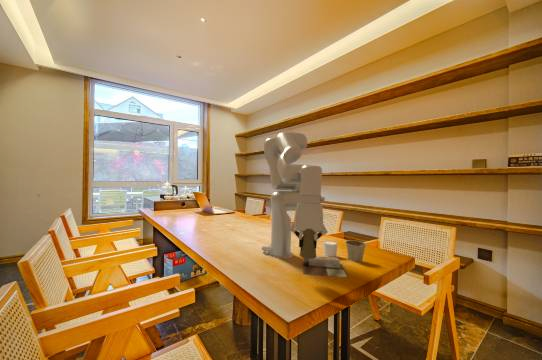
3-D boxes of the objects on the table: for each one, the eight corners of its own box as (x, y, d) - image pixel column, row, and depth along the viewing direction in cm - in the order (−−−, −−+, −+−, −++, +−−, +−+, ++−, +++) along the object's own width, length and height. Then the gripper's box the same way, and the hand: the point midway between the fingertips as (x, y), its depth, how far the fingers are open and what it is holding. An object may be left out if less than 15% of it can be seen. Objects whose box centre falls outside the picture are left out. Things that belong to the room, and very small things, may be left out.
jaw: (303, 265, 99) (303, 256, 99) (303, 263, 101) (303, 254, 101) (339, 268, 96) (339, 259, 96) (338, 266, 99) (339, 257, 99)
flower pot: (367, 266, 104) (368, 246, 104) (345, 264, 106) (346, 245, 106) (363, 259, 114) (364, 241, 113) (343, 257, 115) (344, 239, 115)
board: (303, 277, 91) (303, 266, 91) (302, 263, 105) (302, 254, 105) (348, 280, 89) (348, 269, 89) (341, 266, 103) (342, 257, 103)
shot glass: (329, 260, 111) (329, 245, 110) (319, 255, 117) (320, 241, 116) (340, 258, 114) (340, 243, 114) (330, 253, 120) (330, 240, 120)
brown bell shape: (298, 252, 88) (299, 223, 88) (313, 252, 89) (315, 223, 88) (301, 258, 82) (302, 227, 82) (318, 258, 83) (319, 228, 82)
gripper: (331, 199, 87) (329, 248, 88) (287, 197, 89) (285, 244, 90) (334, 202, 80) (332, 255, 81) (286, 199, 82) (284, 251, 83)
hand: (307, 249), depth 86 cm, fingers closed on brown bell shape, 3 cm apart
